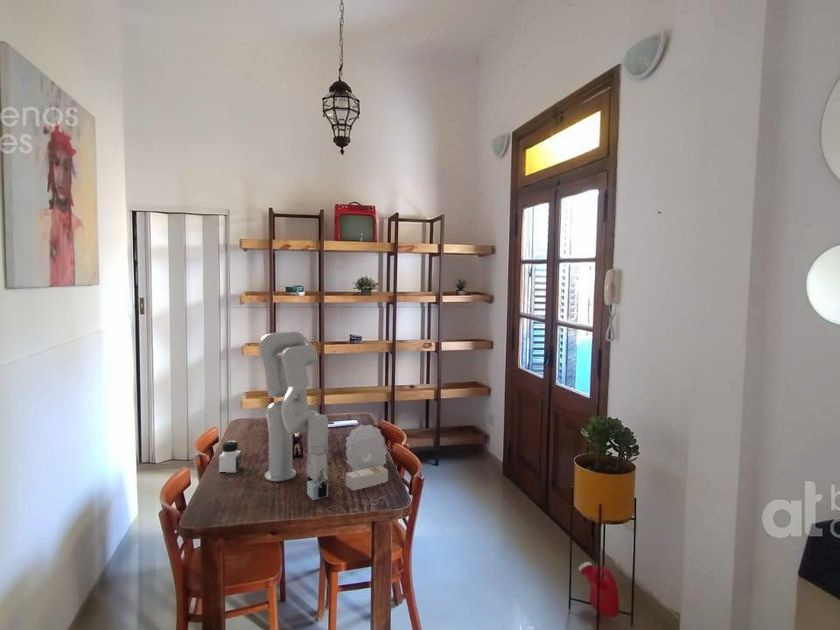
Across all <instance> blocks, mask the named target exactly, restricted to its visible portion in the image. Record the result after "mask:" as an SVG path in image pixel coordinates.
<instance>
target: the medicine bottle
mask: <svg viewBox="0 0 840 630" xmlns="http://www.w3.org/2000/svg"><path fill="white" fill-rule="evenodd" d="M238 445H239V444H238V442H237V441H235V440H228V441H225V442H223V443H222V453H221V454H220V455H219V456H218V473H220V472H226V473H237V472H238V471H239V469H240V468H241V467H242V450H239V447H238Z"/></svg>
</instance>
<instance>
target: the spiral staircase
mask: <svg viewBox="0 0 840 630" xmlns="http://www.w3.org/2000/svg"><path fill="white" fill-rule="evenodd" d="M345 440H346V442H345V447H346V450H345V457H346V458H347V460H346V462H345V463H346V464H348V465H349V466H350V467H351V468H352V470H351V472H353V471H359V470H363V469H368V468H371V467H377V466H382V467H385V466H384V465H386V464H387V459H386V458H387V456H386V455H387V454H388V450H387V448H386V447H385V444H384V443H385V442H386V440H385V437H384V435H382V433H381V429H379V428H378V427H377V428H376V427H375V426H373V424H369V425H363V424H360V425H358V426H357V428H355V429H354V428H353V429H351V431H350V434H349V436H347V437H345Z"/></svg>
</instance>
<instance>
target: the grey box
mask: <svg viewBox="0 0 840 630" xmlns="http://www.w3.org/2000/svg"><path fill="white" fill-rule="evenodd" d="M322 482H323V481H321V483H322ZM318 487H319V483H318V481H316V482H315V481H314V480H312V481H308V480H307V481H306V494H307V495H308V497H309V498H310V499H311V500H312V501H315V500H319V499H322V498H327V497H329V483H328V484H327V496H326V497H321V498H319V497H318Z"/></svg>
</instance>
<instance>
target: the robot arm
mask: <svg viewBox="0 0 840 630" xmlns="http://www.w3.org/2000/svg"><path fill="white" fill-rule="evenodd" d="M258 349H259V350H258V351H259V354H260V358H261V360H262V363H263V366H264V367H263V368H264V374H265V383H266V390H267V394H268V396H269V397H270V398H272V399H273V398H274V399H279V398H283V399H282V400H278V401H277V400H276V401H274V402H272V403H270V404H269V405H268V406H267V407H266V410H265V417H266V422H267V429H268V470H267V471H266V472H265V473H264V479H265V480H268V481H271V482H284V481H288V480H292V479H294V478H295V477H296V476H297V470H295V469H294V468H293V435H296V434H300V433H301V434H302V433H305V432H307V455H306V456H307V457H306V469H305V471H306V475H307V477H308V480H307V481H312V480H314V481H315V482H316V481H318V483H319V487H318V497H319V498H320V499H322V498H321V497H324V498H327V497H326V496H327V484H328V485H329V483H328V482H329V476H328V458H327V457H328V456H327V454H328V451H329V443H328V442H329V419H328V417H327V416H326V415H324V414H321V413H319V411H317V410H314V409H313V410H309V403H308V394H307V388H308V386H309V385H310V379H309V374H308V369H307V367H309V366H313V365H315V364H316V363H317V361H318V354H317V350H316V347H314V345H313V344H312V343H311V342H310V341H309V339H308V338H306V336H304V335H303V333H301V332H298V331H284V332H271V333H268V334H265V335H263V336H262V337H261V338H260V340H259V344H258ZM279 354H280V355H279ZM321 481H323V482H322V483H321Z"/></svg>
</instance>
